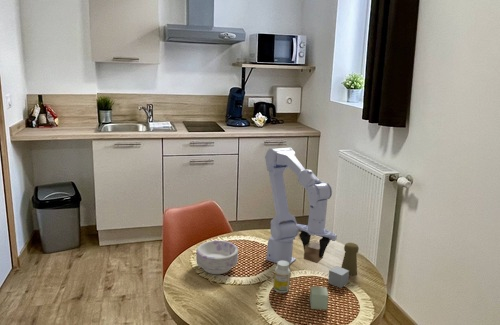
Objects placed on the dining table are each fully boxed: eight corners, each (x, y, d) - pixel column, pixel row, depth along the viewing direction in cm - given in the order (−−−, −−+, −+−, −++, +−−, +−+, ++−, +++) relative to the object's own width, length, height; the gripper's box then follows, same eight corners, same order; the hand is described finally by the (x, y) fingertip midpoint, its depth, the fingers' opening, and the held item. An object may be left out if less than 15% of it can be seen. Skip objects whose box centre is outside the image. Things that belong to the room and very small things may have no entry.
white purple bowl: (189, 274, 146) (189, 253, 145) (205, 256, 161) (205, 237, 159) (230, 282, 143) (230, 261, 141) (242, 262, 157) (243, 243, 155)
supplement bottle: (283, 295, 136) (285, 268, 134) (270, 289, 139) (271, 263, 137) (292, 289, 140) (294, 263, 138) (279, 283, 143) (281, 257, 141)
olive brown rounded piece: (357, 276, 151) (360, 248, 149) (340, 273, 152) (343, 246, 150) (356, 268, 157) (359, 241, 154) (340, 266, 158) (343, 239, 155)
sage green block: (311, 308, 129) (312, 294, 128) (309, 300, 134) (310, 286, 133) (327, 310, 129) (328, 295, 128) (325, 301, 134) (326, 287, 133)
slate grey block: (328, 283, 145) (329, 270, 144) (335, 278, 149) (336, 265, 148) (340, 288, 142) (341, 275, 141) (347, 283, 146) (349, 270, 145)
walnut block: (303, 259, 143) (304, 245, 142) (309, 254, 147) (310, 241, 146) (316, 263, 140) (318, 249, 139) (322, 258, 144) (324, 244, 143)
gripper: (292, 215, 141) (289, 252, 144) (332, 226, 133) (328, 264, 136) (301, 210, 146) (298, 245, 149) (340, 220, 139) (336, 257, 142)
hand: (313, 254), depth 143 cm, fingers closed on walnut block, 5 cm apart
